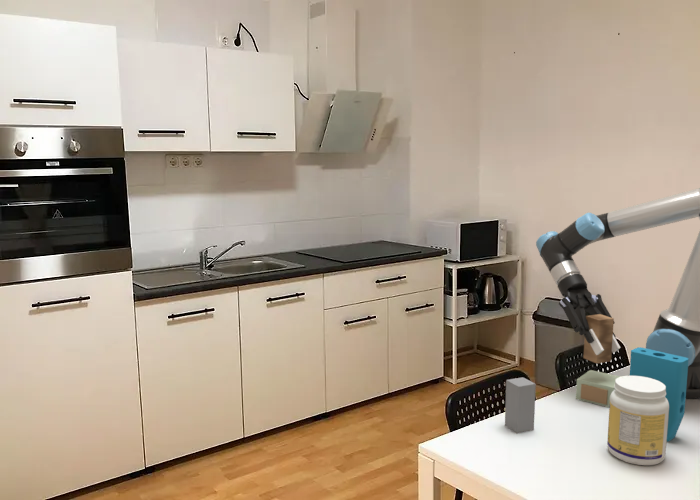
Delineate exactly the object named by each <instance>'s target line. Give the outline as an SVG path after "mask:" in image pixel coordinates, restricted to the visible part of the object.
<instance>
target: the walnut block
mask: <svg viewBox="0 0 700 500" xmlns="http://www.w3.org/2000/svg"><path fill="white" fill-rule="evenodd" d="M611 317H612V316H611ZM611 317H608V316H604V315H601V314H597V315H590V314H589V315H586V319H587V322H588V326H589V330H590V329H593V331H594V333H595V335H596V336H597V338H598V340H599V342H600V344H601V345H602V347H603V349H604V351H602V352H601V353H600V354H599V355H596V354H595V352H594V350H593V348H592V347H591V345H590V343H588V342H587V340H586V338H585V337H584V339H583V340H584V342H583V356H582V357H583V359H585V360H587V361H590V362H591V363H595V364H602V363H609V362H612V354H613V353H612V338H613V333H614V324H615V323H614V322H615V318H614V317H612V318H611Z"/></svg>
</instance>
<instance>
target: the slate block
mask: <svg viewBox="0 0 700 500" xmlns="http://www.w3.org/2000/svg"><path fill="white" fill-rule="evenodd" d="M536 386H537V384H536V383H535V382H533V381H531V380H529V379H528V378H525V377H518V378H517V377H516V378H510V379H506V381H505V411H504V414H505V415H504V426H505V427H506V428H508V429H509V430H511V431H512V432H514V433H516V434H522V433H526V432H532V431H535V415H536V413H535V411H536V409H535V408H536Z"/></svg>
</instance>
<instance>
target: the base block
mask: <svg viewBox="0 0 700 500" xmlns="http://www.w3.org/2000/svg"><path fill="white" fill-rule="evenodd" d="M618 377H621V376H620V375H615V374H611V373H607V372H602V371H597V370H592V369H589V370H588V371H587V372H585V373H583V374H582V375H581V376H580V377H578V378H576V387H575V400H579V401H581V402H586V403H590V404H594V405H598V406H602V407H607V408H609V407H610V395H611V393H612V392H613V391H614V390H615V388H614V385H615V380H616V379H617V378H618Z"/></svg>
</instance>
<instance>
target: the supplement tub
mask: <svg viewBox="0 0 700 500" xmlns="http://www.w3.org/2000/svg"><path fill="white" fill-rule="evenodd" d="M614 388H615V390H614V391H613V392H612V393H611V395H610V407H608V409H609V411H608V427H607V441H606V442H607V443H606V444H607V445H606V446H607V449H608V451H609V453H610V454H612V456H614V457H615V458H617V459H618V460H620V461H623V462H626V463H629V464H632V465H637V466H638V465H639V466H655V465H658V464H660V463H662V462H663V461H664V460H665V458H666V454H667V453H666V451H667V428H668V415H669V402H668V400H667V398H666V397H665V396H666V386H665V385H664V384H663V383H662V382H660V381H658V380H655V379H652V378H648V377H642V376H630V375H623V376H620V377H618V378H617V379H616V380H615V385H614Z"/></svg>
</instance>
